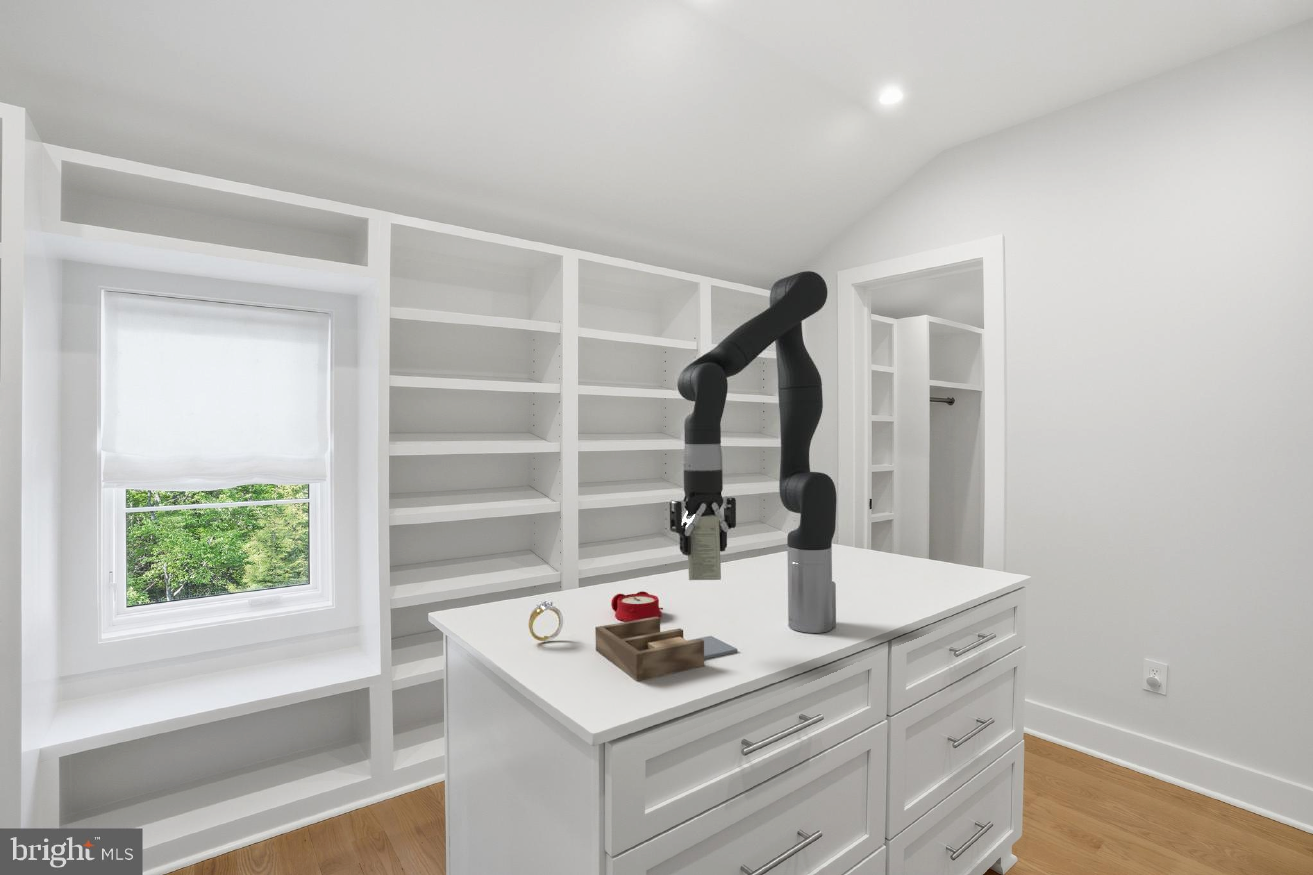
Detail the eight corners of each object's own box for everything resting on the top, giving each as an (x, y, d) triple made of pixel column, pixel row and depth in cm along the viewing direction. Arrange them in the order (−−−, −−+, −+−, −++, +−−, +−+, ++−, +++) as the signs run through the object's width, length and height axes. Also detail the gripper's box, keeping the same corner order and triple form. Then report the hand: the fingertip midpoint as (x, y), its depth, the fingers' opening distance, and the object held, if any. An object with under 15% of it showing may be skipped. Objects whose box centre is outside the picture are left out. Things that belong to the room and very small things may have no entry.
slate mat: (710, 638, 125) (710, 635, 125) (737, 652, 117) (737, 648, 117) (672, 646, 120) (672, 643, 120) (697, 660, 113) (697, 657, 113)
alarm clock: (624, 610, 133) (605, 579, 147) (622, 637, 135) (604, 604, 149) (670, 605, 137) (647, 575, 151) (668, 631, 138) (646, 599, 152)
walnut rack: (657, 638, 125) (657, 616, 125) (704, 665, 110) (704, 640, 110) (595, 650, 119) (595, 627, 119) (636, 681, 103) (636, 654, 103)
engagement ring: (530, 646, 121) (529, 605, 121) (527, 641, 124) (527, 601, 124) (564, 641, 124) (564, 602, 124) (561, 637, 127) (561, 598, 127)
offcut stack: (684, 656, 116) (683, 635, 116) (697, 664, 111) (696, 642, 111) (646, 664, 112) (645, 642, 112) (658, 672, 108) (657, 650, 108)
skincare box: (720, 575, 121) (720, 513, 120) (721, 581, 116) (720, 516, 116) (688, 575, 121) (687, 513, 121) (687, 580, 117) (686, 516, 117)
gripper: (681, 469, 112) (682, 560, 112) (744, 467, 119) (745, 552, 119) (661, 468, 118) (662, 553, 119) (722, 465, 125) (723, 546, 125)
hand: (703, 552), depth 119 cm, fingers closed on skincare box, 7 cm apart
